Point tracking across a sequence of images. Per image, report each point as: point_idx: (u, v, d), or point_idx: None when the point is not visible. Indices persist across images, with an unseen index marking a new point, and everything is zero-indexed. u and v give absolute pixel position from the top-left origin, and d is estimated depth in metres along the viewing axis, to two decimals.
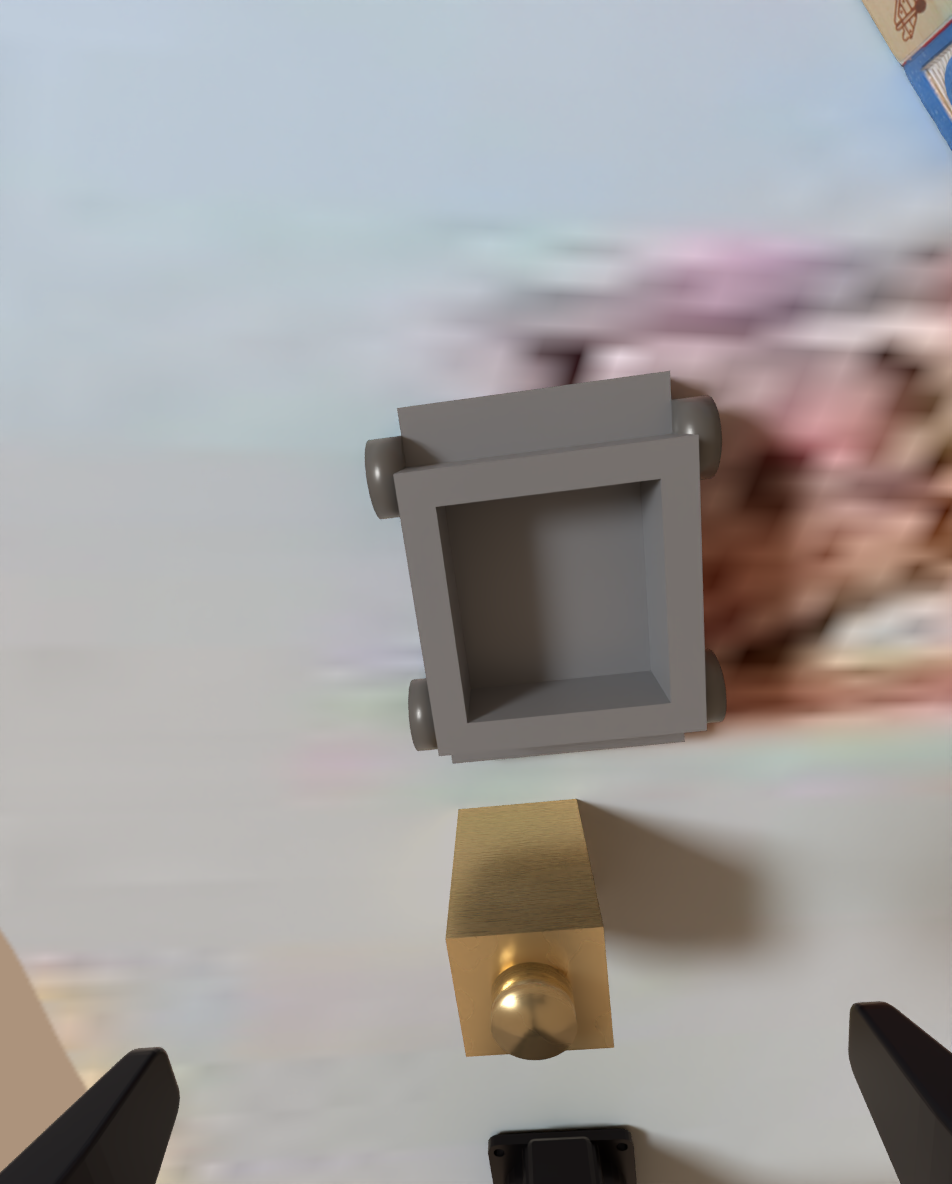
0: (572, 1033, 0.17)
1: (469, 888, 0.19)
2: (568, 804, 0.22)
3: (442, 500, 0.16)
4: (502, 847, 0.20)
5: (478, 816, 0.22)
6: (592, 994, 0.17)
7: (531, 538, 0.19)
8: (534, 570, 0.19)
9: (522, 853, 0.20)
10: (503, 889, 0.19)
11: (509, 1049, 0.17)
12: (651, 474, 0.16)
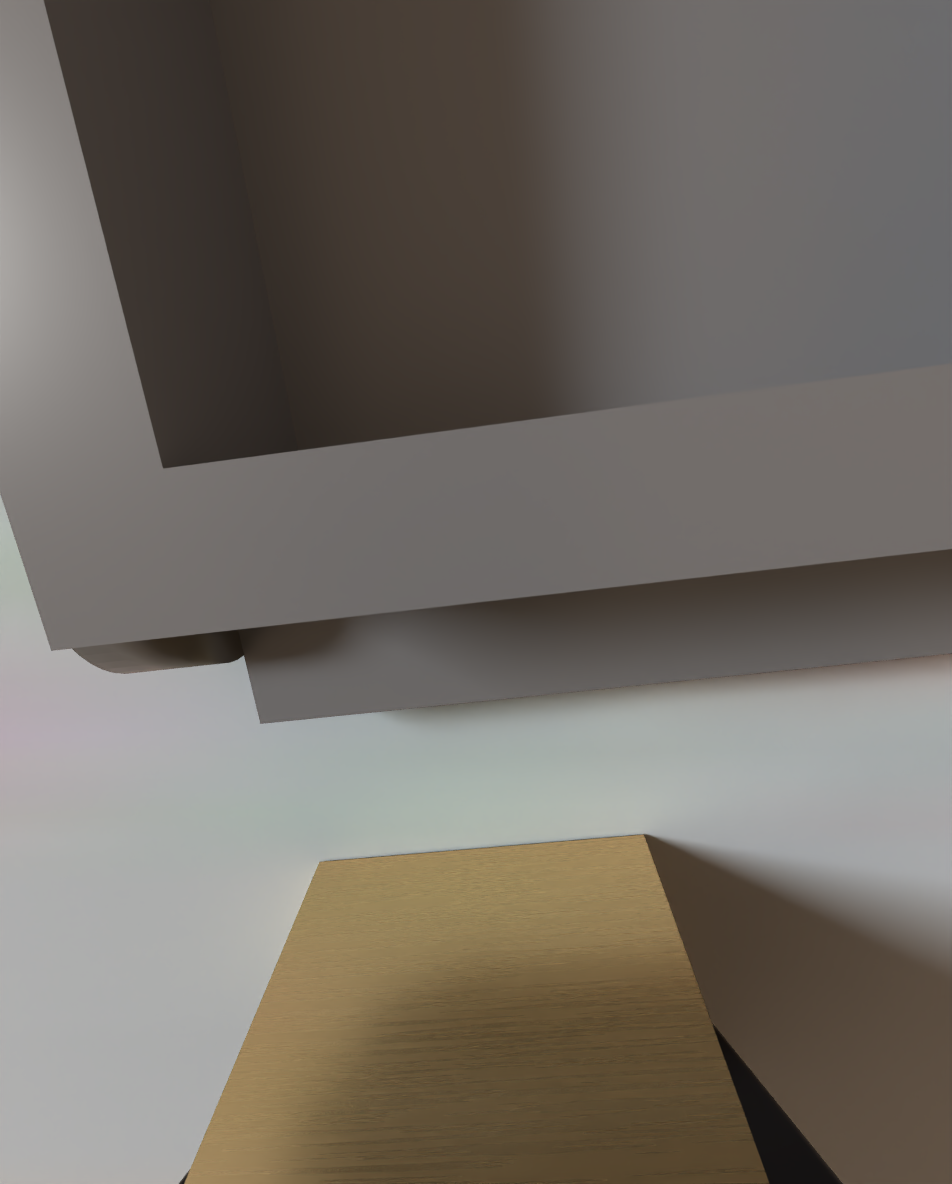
0: None
1: None
2: (622, 853, 0.08)
3: None
4: (415, 1011, 0.06)
5: (365, 886, 0.08)
6: None
7: None
8: None
9: (479, 1046, 0.06)
10: None
11: None
12: None
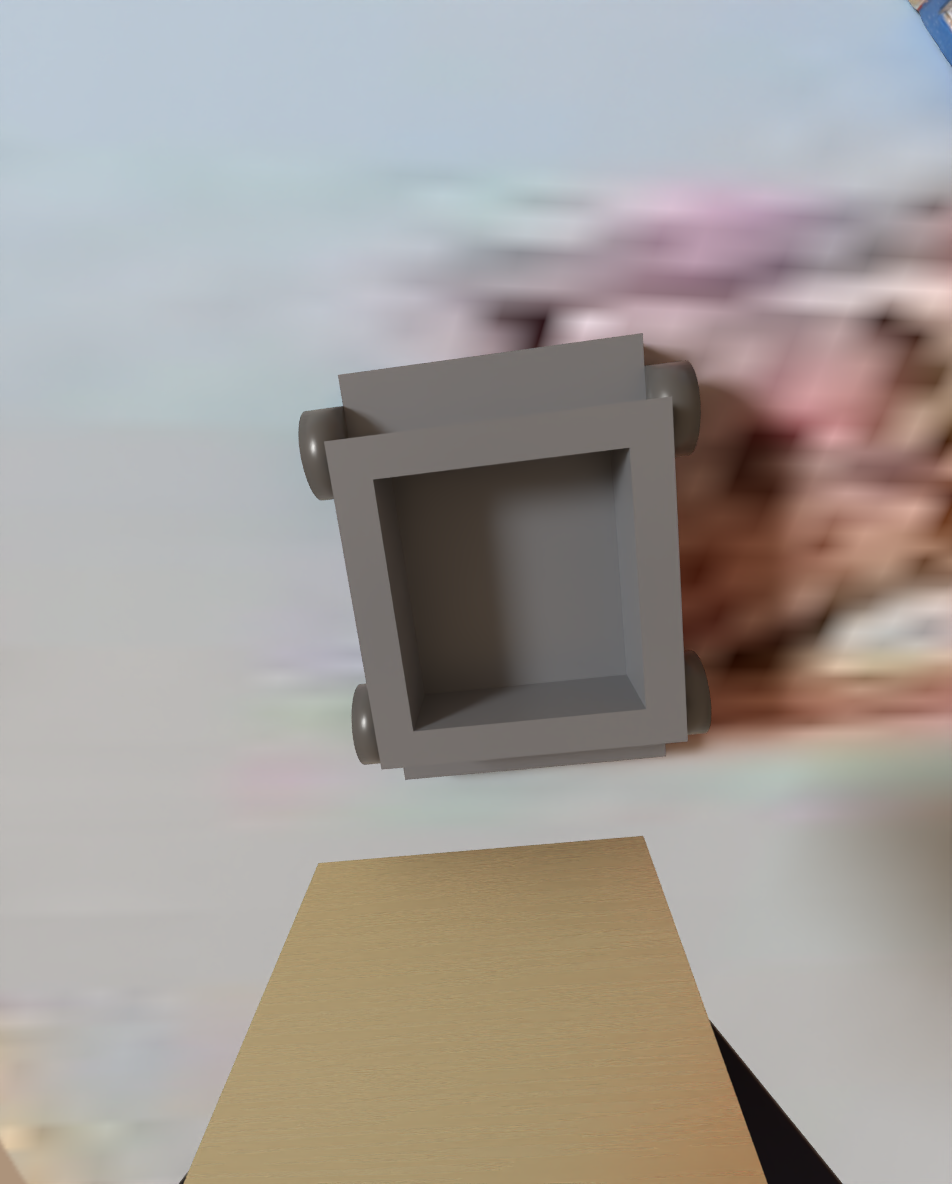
0: None
1: None
2: (622, 854, 0.08)
3: (380, 472, 0.14)
4: (413, 1012, 0.06)
5: (364, 888, 0.08)
6: None
7: (490, 523, 0.17)
8: (494, 559, 0.17)
9: (478, 1048, 0.06)
10: None
11: None
12: (618, 442, 0.14)
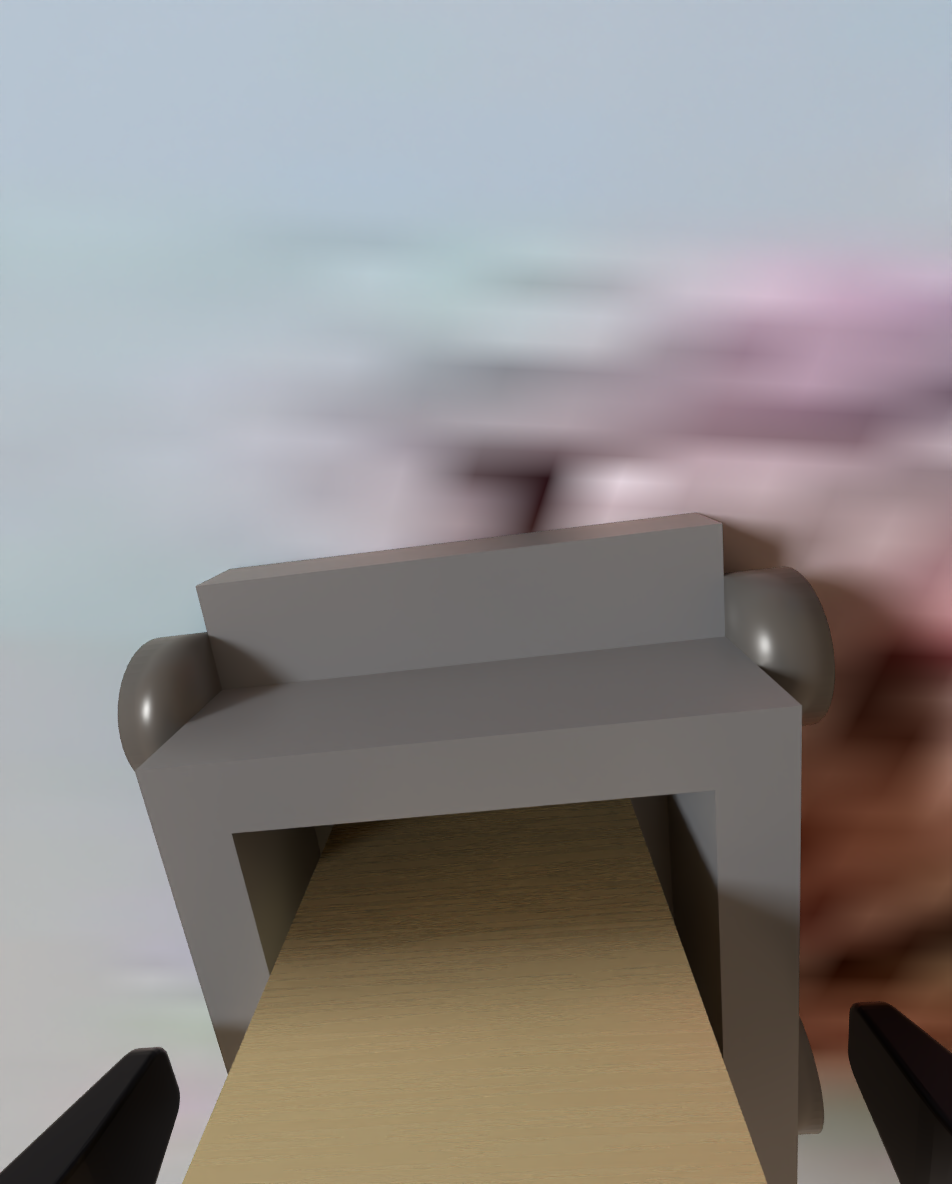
0: None
1: (309, 1020, 0.06)
2: None
3: (244, 823, 0.07)
4: (432, 882, 0.08)
5: None
6: None
7: None
8: None
9: (483, 903, 0.07)
10: (410, 1027, 0.06)
11: None
12: (694, 782, 0.07)
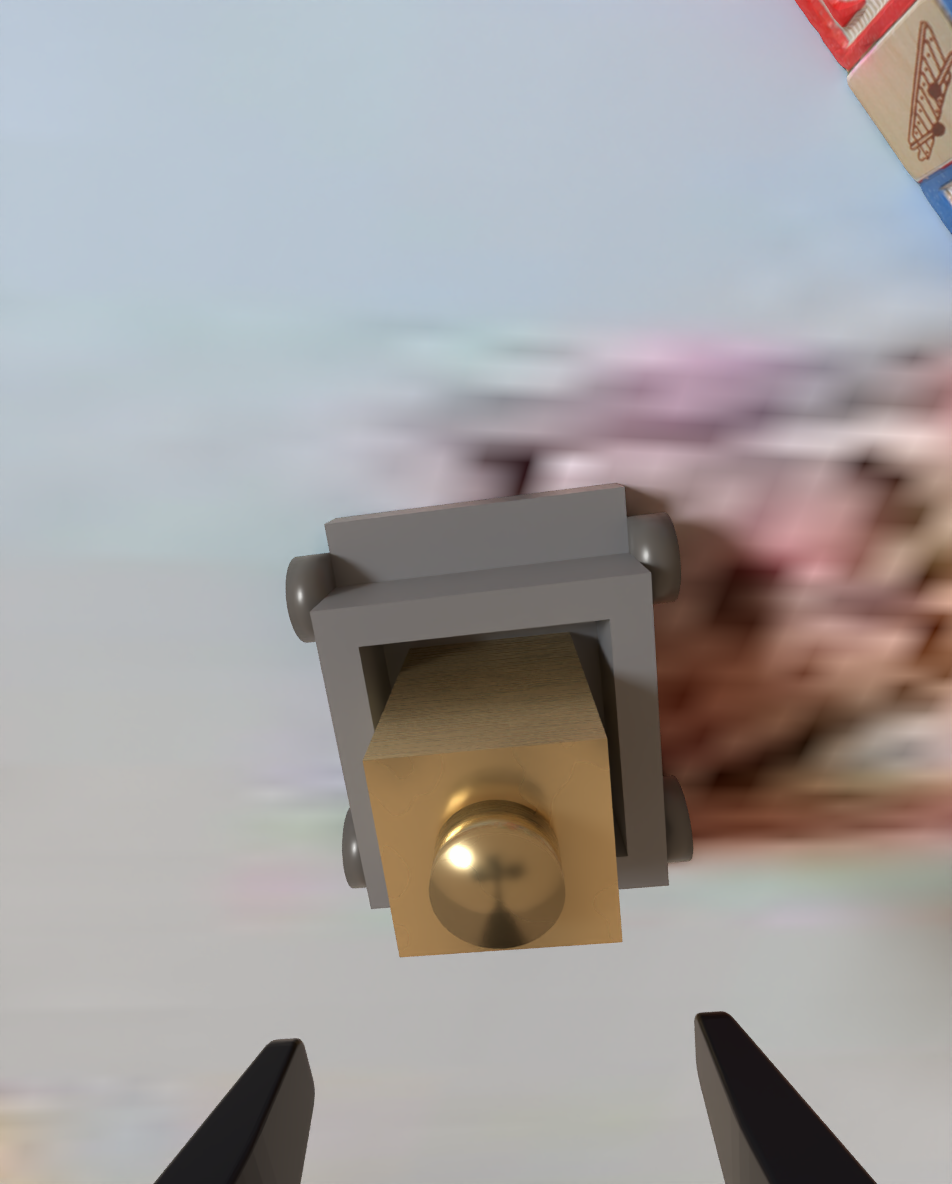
0: (557, 903, 0.10)
1: (410, 712, 0.13)
2: (558, 636, 0.16)
3: (365, 640, 0.14)
4: (463, 674, 0.14)
5: (434, 652, 0.16)
6: (589, 854, 0.11)
7: None
8: None
9: (490, 678, 0.14)
10: (458, 710, 0.13)
11: (459, 930, 0.11)
12: (599, 614, 0.14)
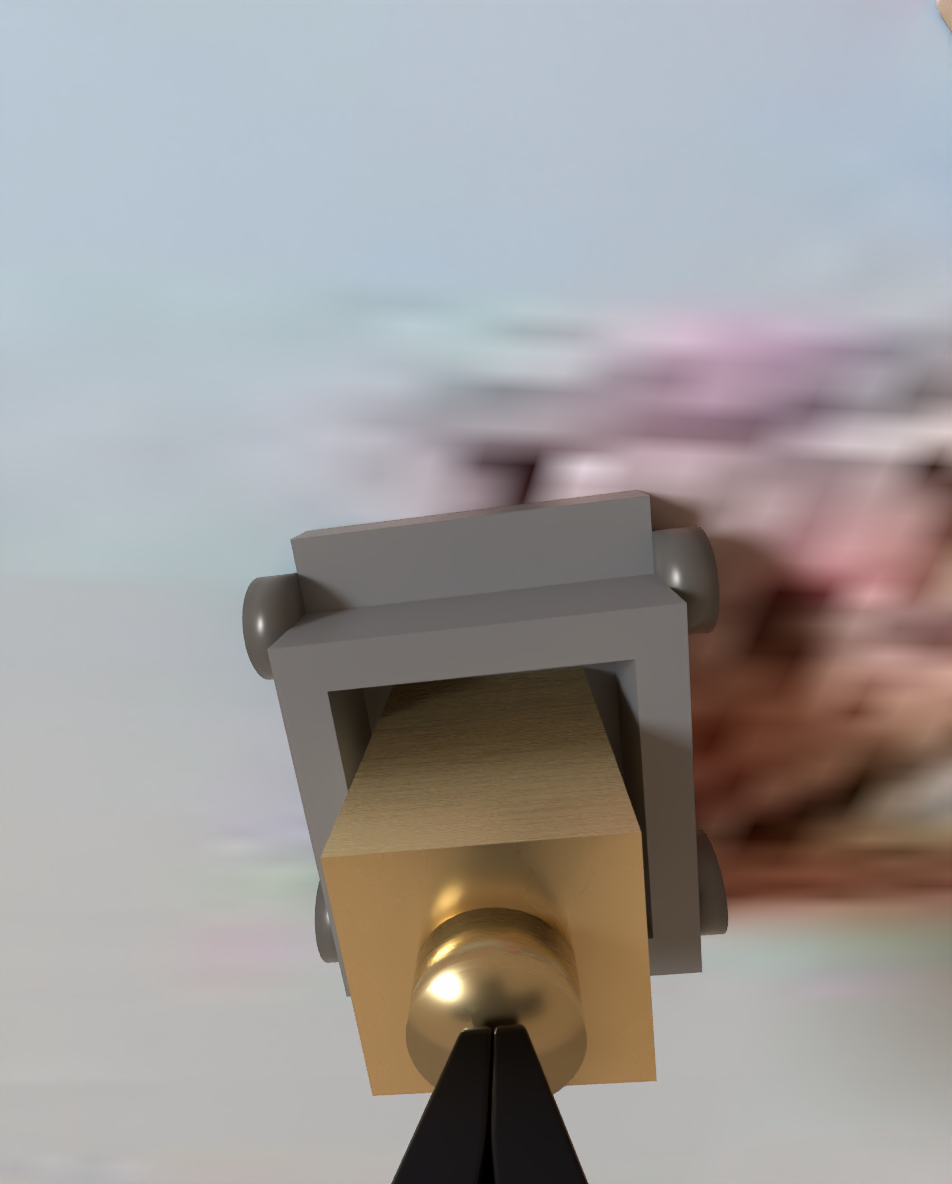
0: (576, 1053, 0.08)
1: (387, 780, 0.10)
2: (569, 673, 0.14)
3: (335, 684, 0.12)
4: (455, 725, 0.12)
5: (422, 691, 0.14)
6: (616, 975, 0.09)
7: None
8: None
9: (489, 731, 0.11)
10: (447, 779, 0.10)
11: None
12: (621, 653, 0.11)
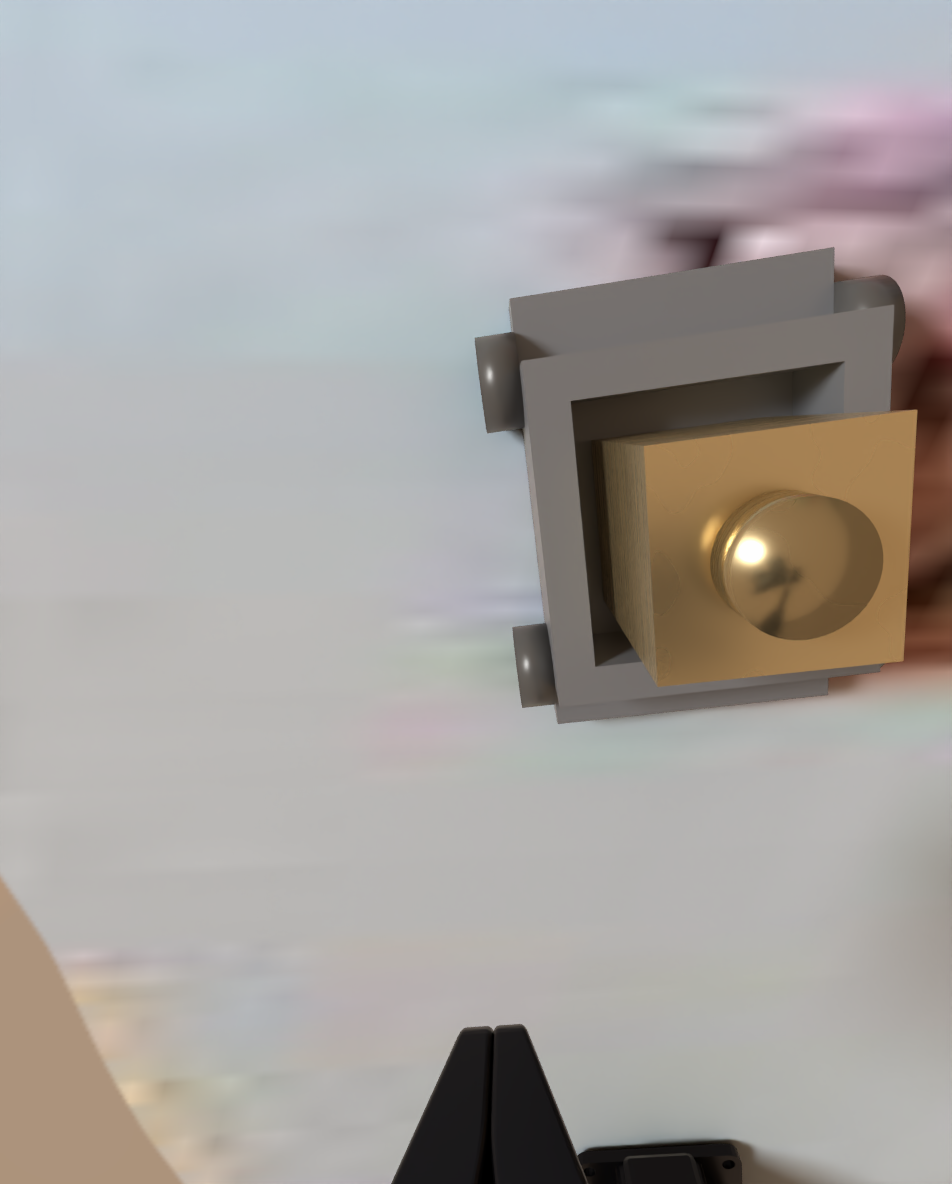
0: (872, 581, 0.10)
1: (653, 439, 0.12)
2: (754, 418, 0.15)
3: (579, 392, 0.13)
4: (680, 432, 0.14)
5: (625, 436, 0.15)
6: None
7: None
8: None
9: (716, 428, 0.13)
10: (709, 432, 0.12)
11: (758, 618, 0.10)
12: (833, 355, 0.13)
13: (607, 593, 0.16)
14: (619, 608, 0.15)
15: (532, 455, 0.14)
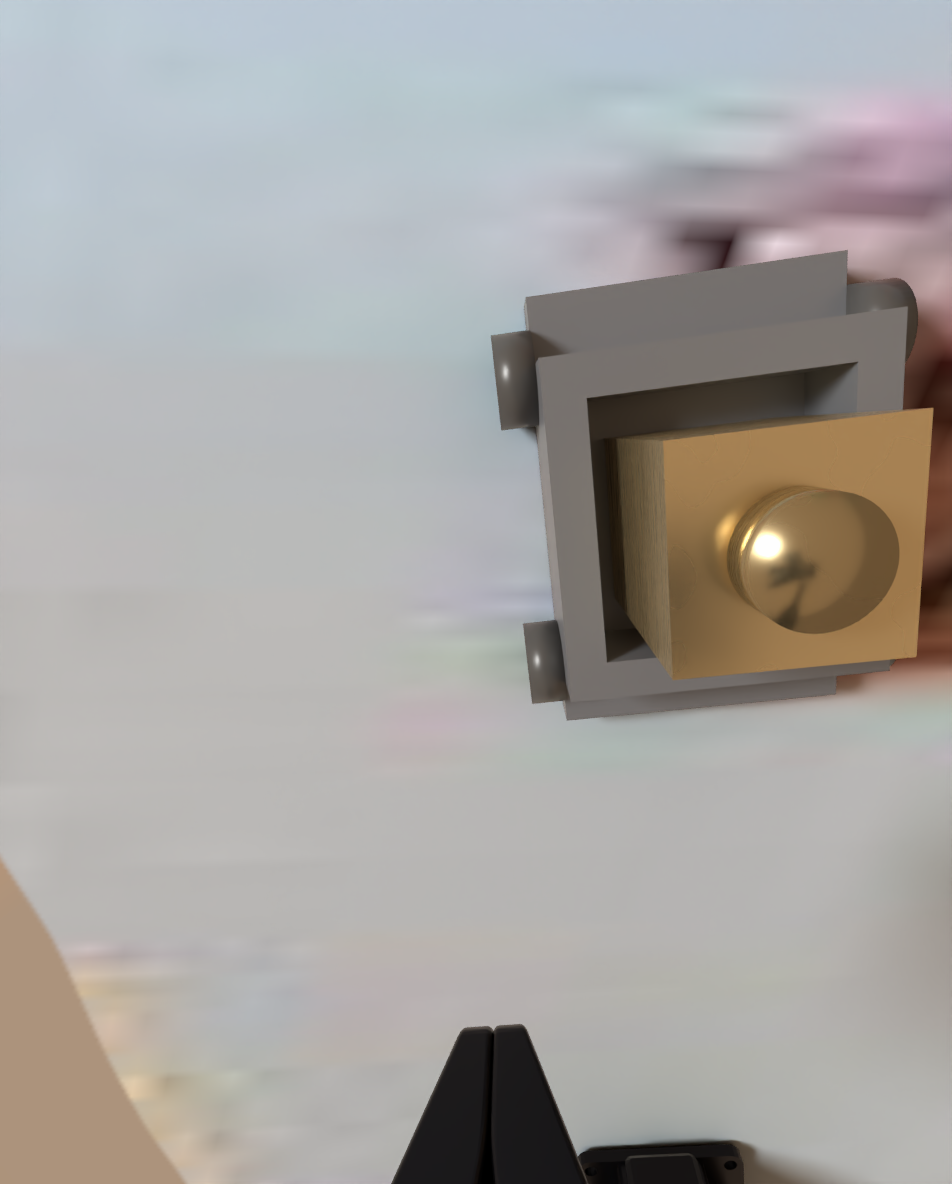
0: (888, 576, 0.10)
1: (669, 435, 0.12)
2: (767, 418, 0.16)
3: (595, 389, 0.14)
4: (694, 429, 0.14)
5: (638, 434, 0.16)
6: None
7: None
8: None
9: (731, 426, 0.13)
10: (725, 429, 0.12)
11: (775, 612, 0.10)
12: (847, 356, 0.13)
13: (618, 590, 0.16)
14: (631, 604, 0.15)
15: (548, 451, 0.14)
